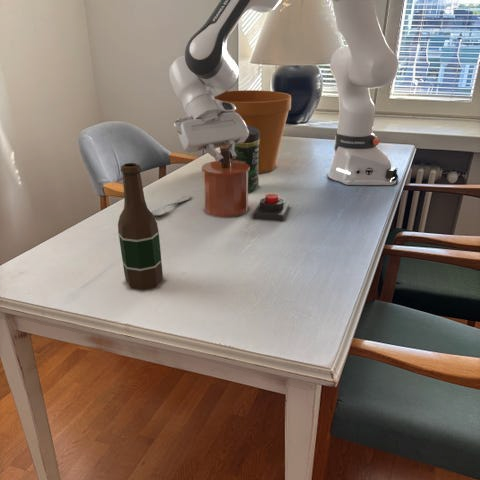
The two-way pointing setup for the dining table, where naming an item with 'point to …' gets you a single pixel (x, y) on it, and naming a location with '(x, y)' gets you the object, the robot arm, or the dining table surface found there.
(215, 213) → the jar
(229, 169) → the lid
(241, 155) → the coffee jar
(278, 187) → the dining table surface
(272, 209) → the block
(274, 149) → the flowerpot
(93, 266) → the dining table surface
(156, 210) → the spoon
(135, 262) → the beer bottle
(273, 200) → the button
